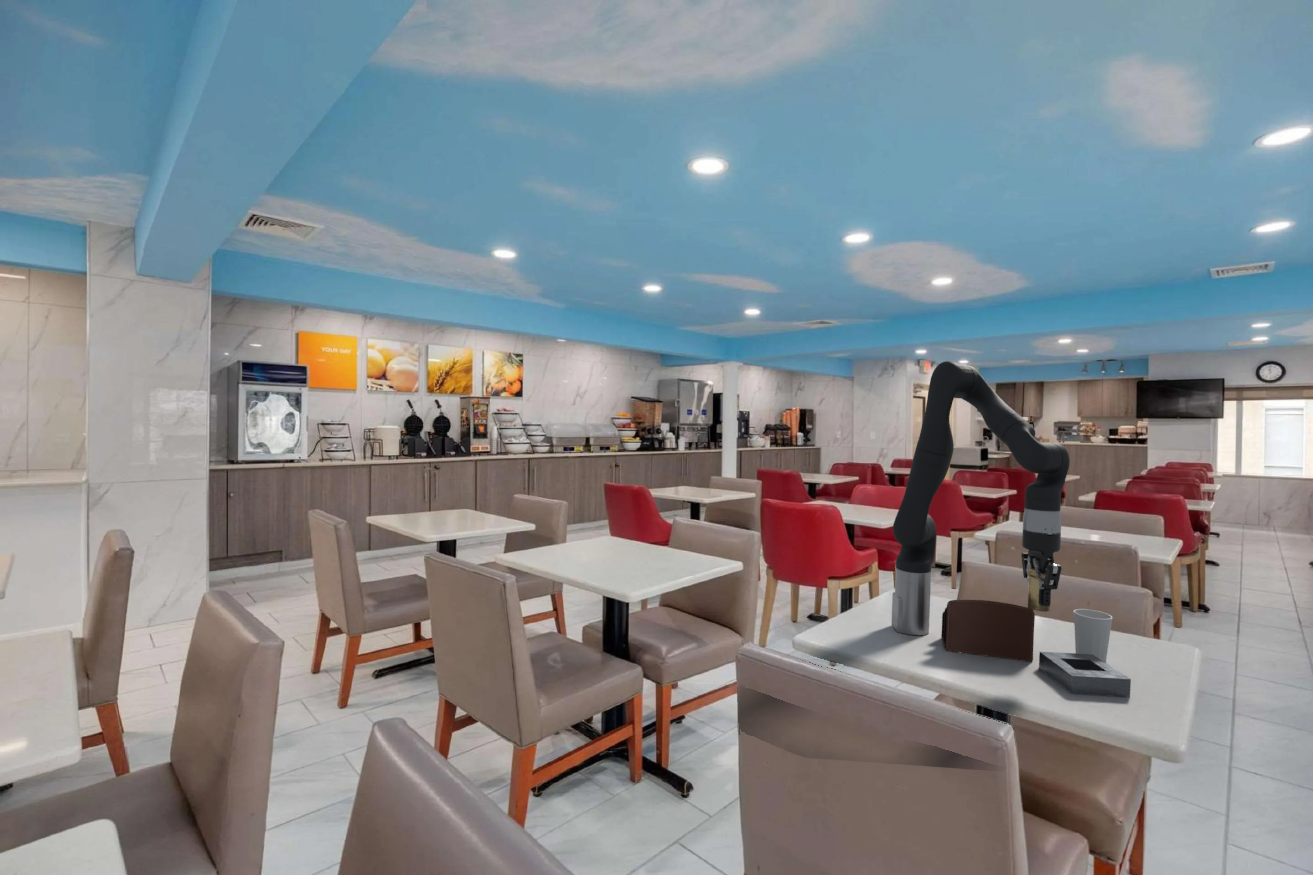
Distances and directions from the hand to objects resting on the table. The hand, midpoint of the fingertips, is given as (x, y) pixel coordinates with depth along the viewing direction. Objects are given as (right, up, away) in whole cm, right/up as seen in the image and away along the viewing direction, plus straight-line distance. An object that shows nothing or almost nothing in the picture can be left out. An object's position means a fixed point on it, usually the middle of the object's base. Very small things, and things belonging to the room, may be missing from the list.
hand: (1039, 602), depth 146 cm
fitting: (0, -1, 0) cm, 1 cm away
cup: (+19, -18, +11) cm, 28 cm away
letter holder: (-3, -17, +18) cm, 25 cm away
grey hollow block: (+9, -18, -1) cm, 20 cm away
